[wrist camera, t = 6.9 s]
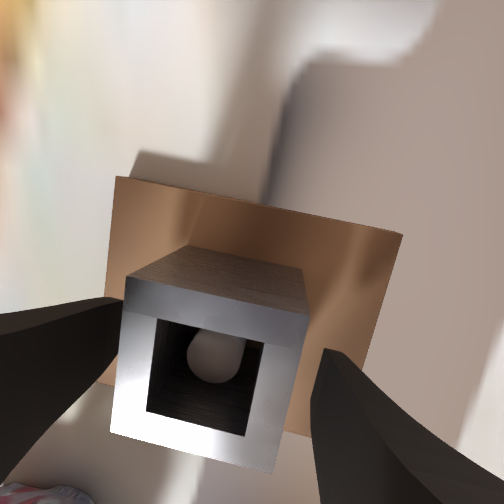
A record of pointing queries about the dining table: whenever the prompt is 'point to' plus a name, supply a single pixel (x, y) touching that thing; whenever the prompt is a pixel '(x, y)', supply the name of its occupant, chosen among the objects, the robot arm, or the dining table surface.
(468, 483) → the robot arm
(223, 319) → the collar
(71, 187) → the dining table surface
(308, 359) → the shaft block
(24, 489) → the red grey chunky piece
